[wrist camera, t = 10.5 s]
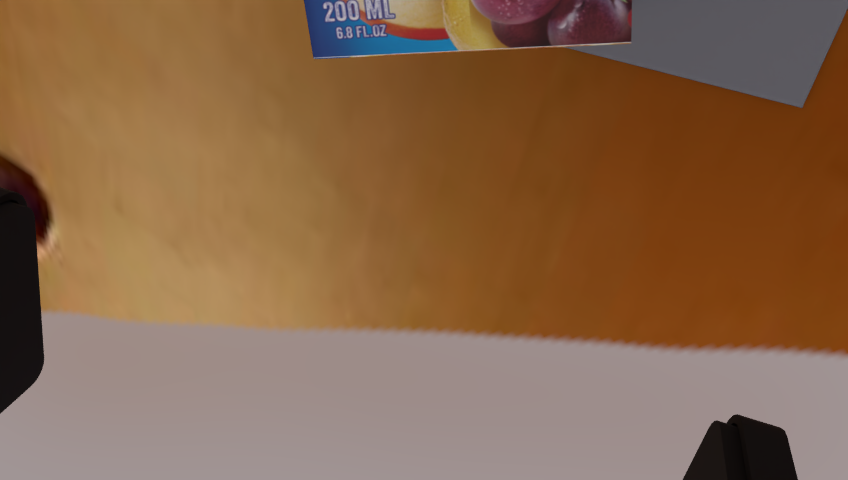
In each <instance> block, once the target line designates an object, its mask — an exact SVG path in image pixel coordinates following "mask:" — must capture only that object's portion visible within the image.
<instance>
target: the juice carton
mask: <svg viewBox="0 0 848 480" xmlns="http://www.w3.org/2000/svg"><path fill="white" fill-rule="evenodd" d="M304 3H305V9H306V15H307V21H308V27H309V33H310V39H311V45H312V52H313V58H314V59H327V58H347V57H368V56H388V55H409V54H429V53H450V52H470V51H490V50H511V49H531V48H552V47H572V46H593V45H613V44H630V43H631V32H632V0H304Z"/></svg>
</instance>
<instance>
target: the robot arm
mask: <svg viewBox="0 0 848 480" xmlns="http://www.w3.org/2000/svg"><path fill="white" fill-rule="evenodd" d="M43 352H44V351H43V335H42V321H41V305H40V289H39V274H38V259H37V244H36V229H35V217H34V213H33V211H32V210H31V209H30V208H28V207H27V204H26V201H25V199H24V198H23V196H22V195H20V194H19V193H17V192H13V191H10V190H7V189H4V188H0V413H1V412H3V411H4V410H5V409H6V408H7V407H8V406H9V405H10V404H12V402H14V401H15V400H16V399H17V398H18V397H19V396H20V395H21V394H23V393H24V392H25V391H26V390H27V389H28V388H29V387H30V386H31V385H32V384H33V383H34V382H35V381H36V380H37V378H38V376H39V375H40V373H41V370H42V367H43V364H44V353H43ZM683 480H798V479H797V475H796V471H795V467H794V462H793V458H792V454H791V450H790V446H789V443H788V438H787V435H786V433H785V431H784V430H783V429H781V428H779V427H776V426H773V425H770V424H766V423H763V422H760V421H757V420H753V419H750V418H747V417H744V416H741V415H733V416H732V417H731V418H730V419H729V420H728V422H727V424H726V423H723V422H720V421H714V422H713V423H712V424H711V426H710V427H709V429H708V431H707V433H706V435H705V437H704V439H703V441H702V443H701V445H700V447H699V449H698V450H697V452H696V454H695V457H694V458H693V461H692V462H691V464H690V466H689V468H688V471H687V472H686V474H685V476H684V478H683Z"/></svg>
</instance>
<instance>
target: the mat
mask: <svg viewBox="0 0 848 480" xmlns="http://www.w3.org/2000/svg"><path fill="white" fill-rule="evenodd" d="M847 8H848V0H632V32H631V43H630V44H613V45H593V46H572V47H566V48H569V49H573V50H577V51H581V52H585V53H589V54H593V55H597V56H601V57H605V58H609V59H613V60H616V61H620V62H624V63H628V64H632V65H636V66H640V67H644V68H648V69H652V70H656V71H660V72H663V73H667V74H671V75H675V76H679V77H683V78H687V79H691V80H695V81H699V82H703V83H707V84H710V85H714V86H718V87H722V88H726V89H730V90H734V91H738V92H742V93H746V94H750V95H753V96H757V97H761V98H765V99H769V100H773V101H777V102H781V103H785V104H789V105H793V106H797V107H800V108H802V107H803V105H804V102H805V100H806V98H807V96H808V94H809V92H810V89H811V87H812V85H813V83H814V81H815V78H816V76H817V74H818V72H819V70H820V67H821V65H822V63H823V61H824V59H825V57H826V54H827V52H828V50H829V48H830V46H831V43H832V41H833V39H834V37H835V35H836V32H837V30H838V28H839V26H840V24H841V22H842V19H843V17H844V15H845V13H846V11H847Z"/></svg>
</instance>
